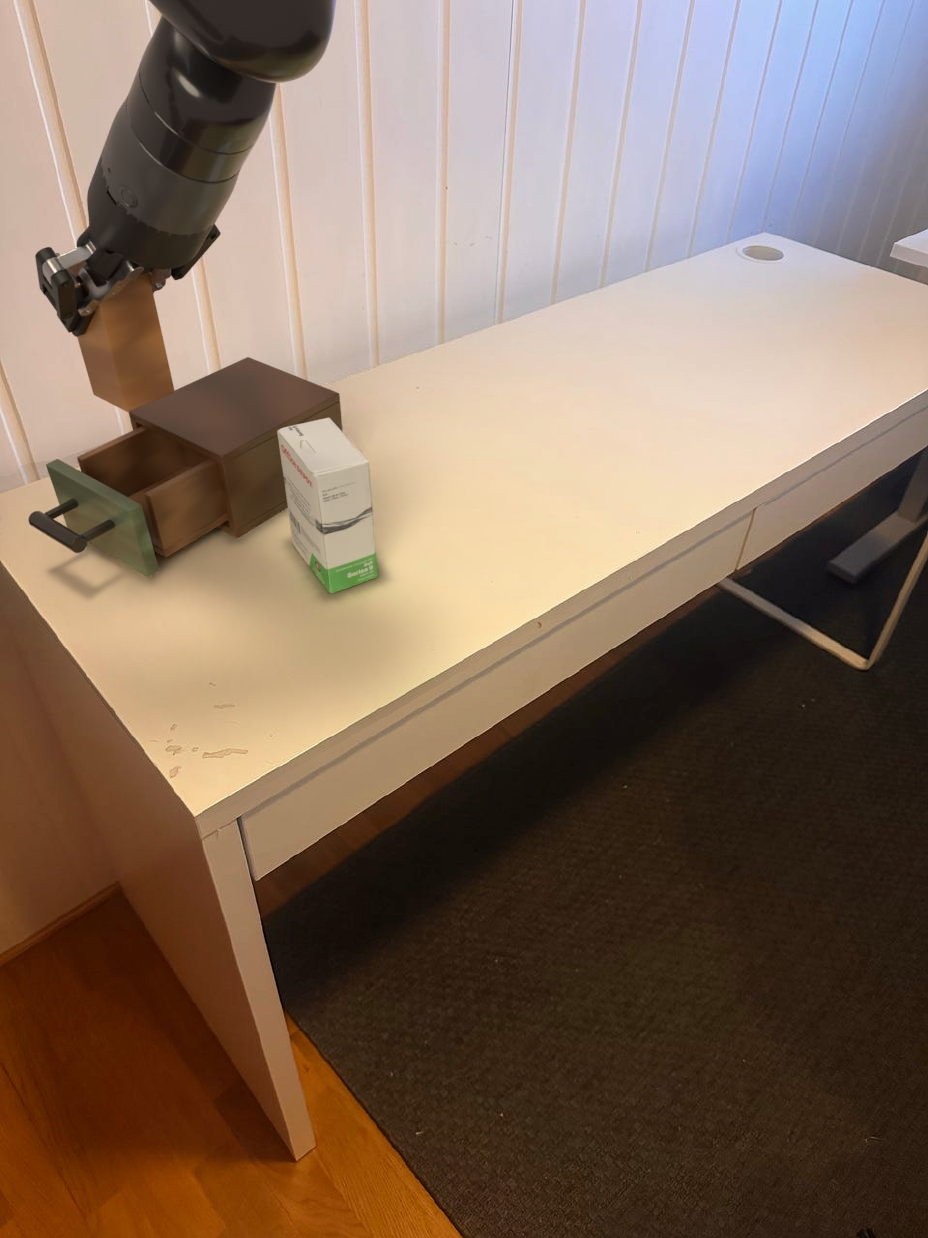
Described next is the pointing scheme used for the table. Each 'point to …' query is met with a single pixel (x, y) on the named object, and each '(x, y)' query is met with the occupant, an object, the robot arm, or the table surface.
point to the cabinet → (241, 430)
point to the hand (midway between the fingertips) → (101, 313)
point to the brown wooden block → (127, 348)
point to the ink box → (329, 503)
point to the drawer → (135, 499)
